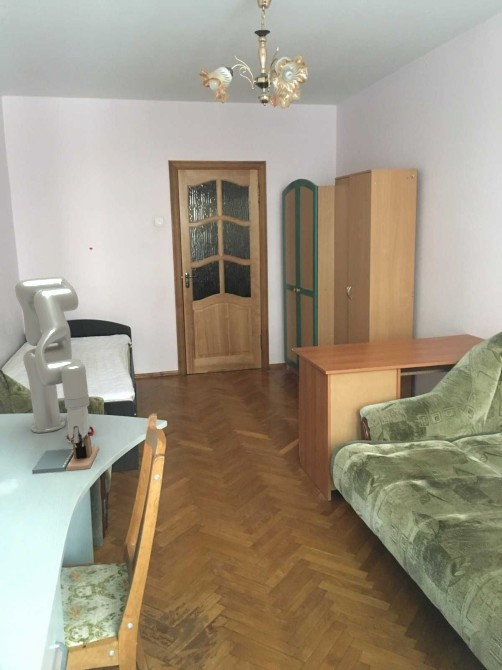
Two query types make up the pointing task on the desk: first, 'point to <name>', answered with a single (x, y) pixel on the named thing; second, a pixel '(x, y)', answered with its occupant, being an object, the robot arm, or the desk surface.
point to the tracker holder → (88, 435)
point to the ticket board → (54, 461)
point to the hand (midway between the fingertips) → (83, 454)
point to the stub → (83, 462)
